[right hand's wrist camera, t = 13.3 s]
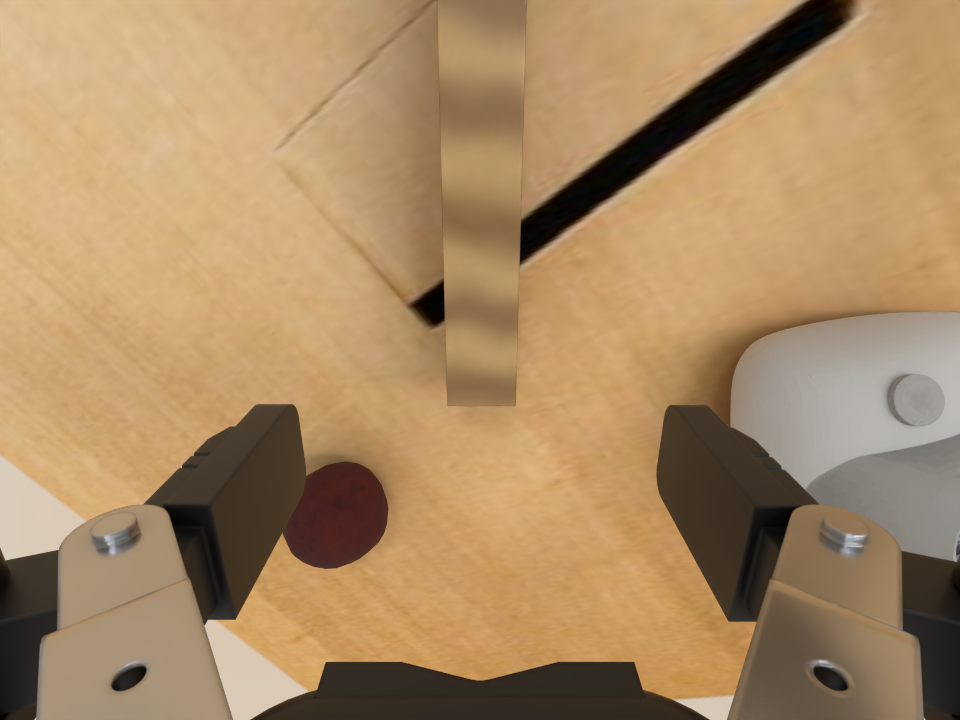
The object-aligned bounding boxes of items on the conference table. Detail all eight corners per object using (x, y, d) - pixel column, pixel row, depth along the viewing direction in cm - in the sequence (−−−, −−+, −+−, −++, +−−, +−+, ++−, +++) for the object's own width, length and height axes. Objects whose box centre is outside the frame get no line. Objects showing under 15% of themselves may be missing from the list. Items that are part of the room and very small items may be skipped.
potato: (291, 507, 42) (255, 572, 35) (319, 430, 39) (286, 484, 33) (376, 536, 43) (357, 604, 36) (409, 463, 40) (395, 521, 34)
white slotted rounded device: (849, 566, 44) (1016, 748, 30) (634, 446, 40) (715, 594, 26) (1072, 358, 37) (1418, 471, 23) (842, 188, 33) (1098, 205, 19)
